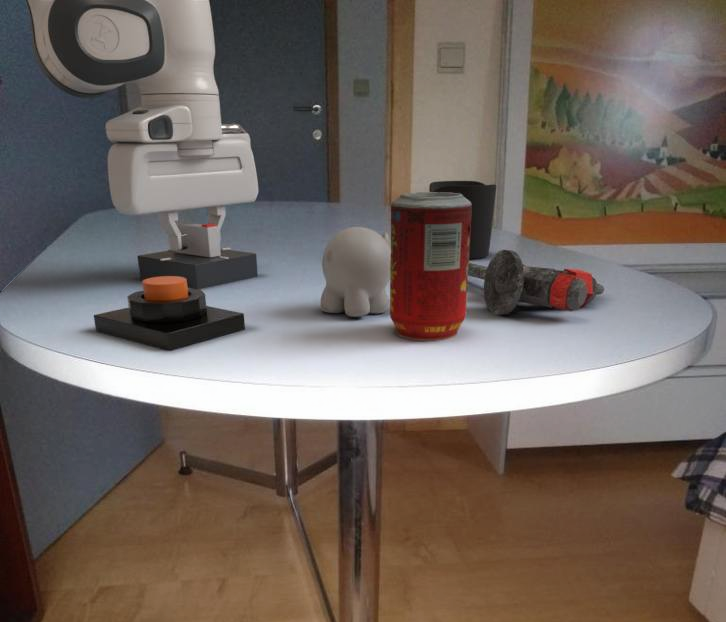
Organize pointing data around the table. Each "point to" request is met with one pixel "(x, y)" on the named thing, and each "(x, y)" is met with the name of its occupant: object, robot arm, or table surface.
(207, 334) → the control block
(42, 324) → the table surface
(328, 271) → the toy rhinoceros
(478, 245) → the pen holder
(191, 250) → the selector knob
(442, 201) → the soda can
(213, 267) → the block
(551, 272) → the valve
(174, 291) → the button
